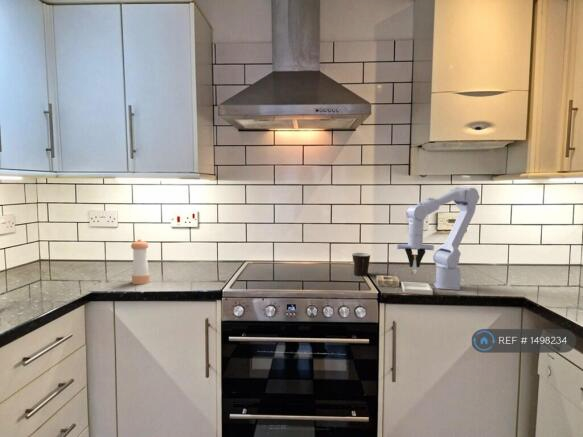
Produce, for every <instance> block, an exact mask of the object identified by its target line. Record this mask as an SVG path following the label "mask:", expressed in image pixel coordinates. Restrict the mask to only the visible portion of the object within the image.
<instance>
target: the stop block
mask: <svg viewBox="0 0 583 437" xmlns="http://www.w3.org/2000/svg"><path fill="white" fill-rule="evenodd" d="M376 285H377V286H378V287H392V288H393V287H394V288H399V287H400V280H399V278H398V276H395V275H381V274H379V275H376Z"/></svg>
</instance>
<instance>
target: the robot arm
mask: <svg viewBox="0 0 583 437" xmlns="http://www.w3.org/2000/svg"><path fill="white" fill-rule="evenodd" d="M479 199H480V194H479V191H478V189H476V188H475V187H454V188H452V189H450V190H449V191H448V192H446V193H444V194H442V195H440V196H438V197H437V198H434V197H427V198H426V200H424V201H422V202H418V203H417V204H416V205H415V204H414V205H410V206H409V207H408V208H407V210H406V211H405V215H406V217H407V222H408V234H407V236H408V237H407V243H397V244H396V250H404V251H405V253H406V256H407V259H408V264H409V265H408V266H409V267H410V268H411V267H412V254H413V250H417V254H416V255H418V263H417V268H420V266H421V262H422V260H423V258H424V256H425V254H426V251H434V250H435V245H433V244H423V240H424V239H423V238H424V220H425V219H426V218H427V216H428V215H430V214H432V213H435V212H436V211H438V210H440V206H444V205H445V204H448V203H450V202H454V204H455V205H456V206H457V208H458V209H459V213H458V215H457V216H456V219H455V222H454V223H453V225H452V228H451V230H450V232H449V234H448V236H447V238H446V241H444V243H443V244H441V245H439V247H438V249H437V250H435V251H434V253H433V255H432V260H433V262H434V263H435V266H436V268H435V271H436V273H435V282H433V286H434V287H435V288H436V289H437V290H439V289H440V290H455V291H457V290H458V291H460V290H461V275H462V274H461V269H460V267H458V265H459V263H460V257H461V255H462V253H461V251H460V250H459V247H460V244H461V242H462V240H463V238H464V236H465V234H466V232H467V230H468V228H469V225H470V224H471V221H472V219H473V218H474V214H475V212H476V207H477V204H478V202H479Z"/></svg>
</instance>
